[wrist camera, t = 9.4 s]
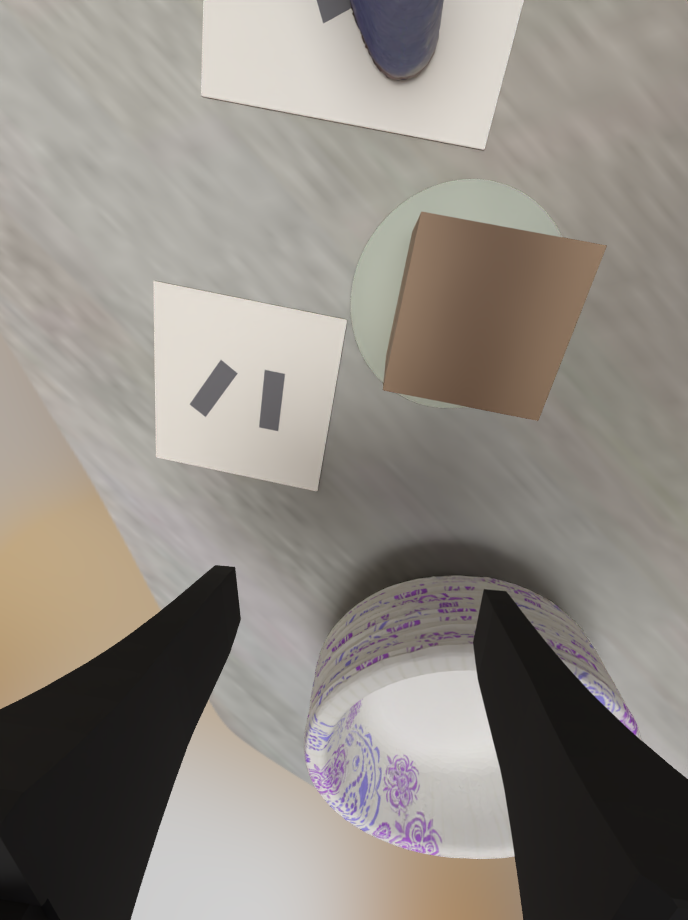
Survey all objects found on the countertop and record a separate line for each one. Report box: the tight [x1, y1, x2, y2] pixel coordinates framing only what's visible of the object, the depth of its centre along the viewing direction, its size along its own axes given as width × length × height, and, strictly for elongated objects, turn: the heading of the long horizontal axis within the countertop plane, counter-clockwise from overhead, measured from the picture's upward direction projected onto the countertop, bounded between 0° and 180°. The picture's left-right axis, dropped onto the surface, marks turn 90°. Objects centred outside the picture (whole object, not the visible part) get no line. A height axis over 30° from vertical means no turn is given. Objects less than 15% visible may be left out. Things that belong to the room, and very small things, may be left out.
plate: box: [351, 179, 562, 408], centre depth 18 cm, size 9×9×1 cm
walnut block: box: [383, 211, 607, 421], centre depth 15 cm, size 5×5×6 cm
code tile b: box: [154, 281, 347, 491], centre depth 21 cm, size 9×9×1 cm
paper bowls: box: [304, 576, 642, 859], centre depth 23 cm, size 15×15×8 cm
